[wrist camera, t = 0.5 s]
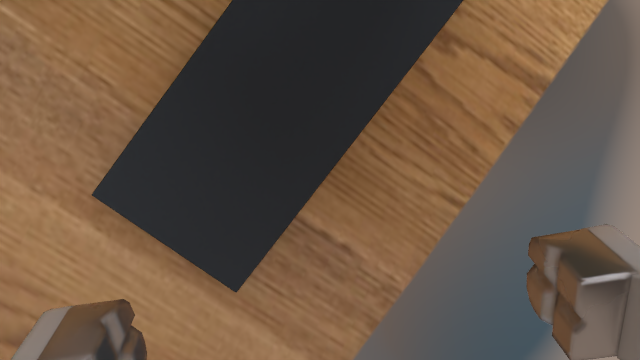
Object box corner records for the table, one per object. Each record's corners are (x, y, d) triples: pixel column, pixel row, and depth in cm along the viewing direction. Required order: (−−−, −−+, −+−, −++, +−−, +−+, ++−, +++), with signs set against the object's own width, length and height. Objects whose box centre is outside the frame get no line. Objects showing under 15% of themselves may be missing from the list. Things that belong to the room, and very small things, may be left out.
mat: (236, 290, 35) (236, 292, 34) (94, 193, 33) (91, 195, 32) (482, -27, 32) (485, -29, 32) (344, -153, 30) (345, -157, 30)
